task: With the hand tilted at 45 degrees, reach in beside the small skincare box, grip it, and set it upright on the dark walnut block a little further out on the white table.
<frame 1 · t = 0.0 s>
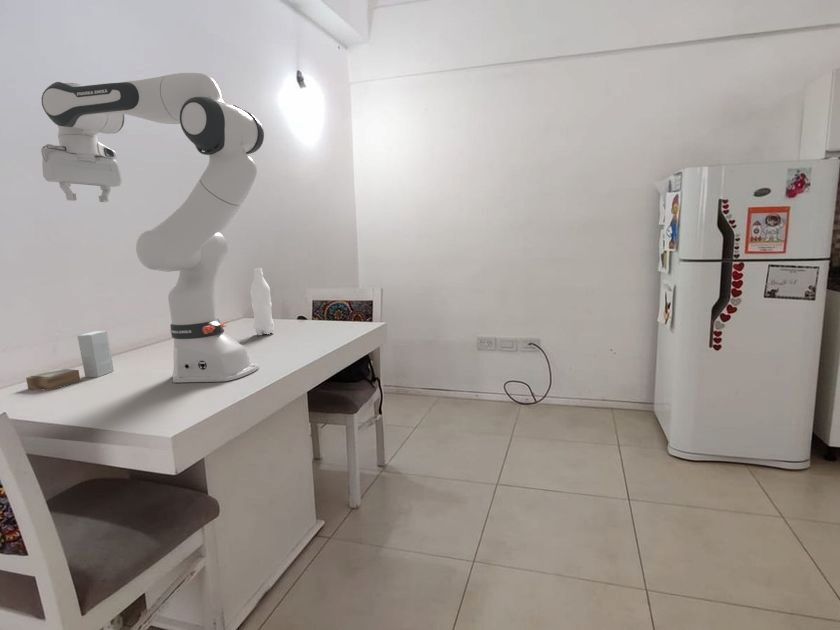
hand: (88, 201, 134), 48 cm above the table, tool pointing down, fingers open, 8 cm apart
water bottle: (265, 334, 184), on the table
walnut block: (54, 384, 128), on the table
skincare box: (99, 375, 137), on the table
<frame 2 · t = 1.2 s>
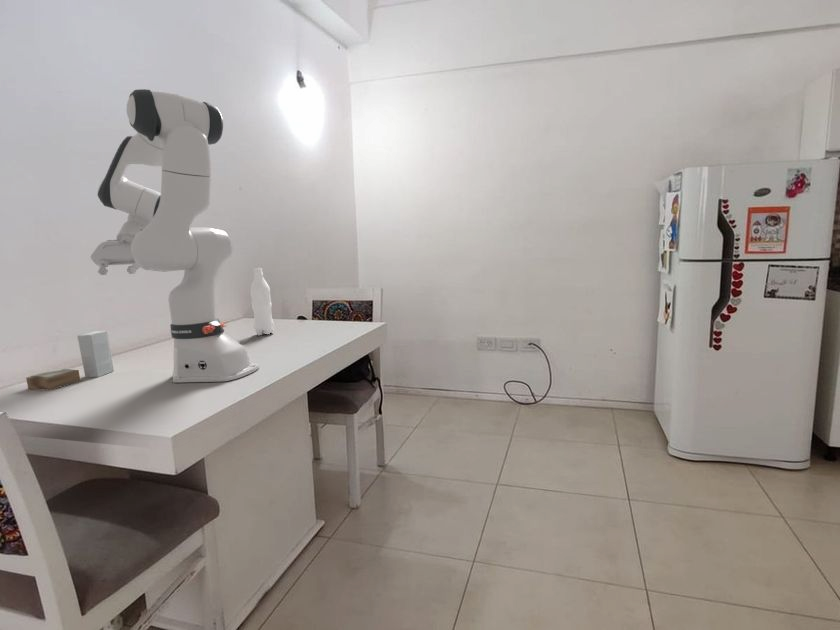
hand: (115, 273, 144), 28 cm above the table, tool tilted 45°, fingers open, 8 cm apart
nothing on the table moved.
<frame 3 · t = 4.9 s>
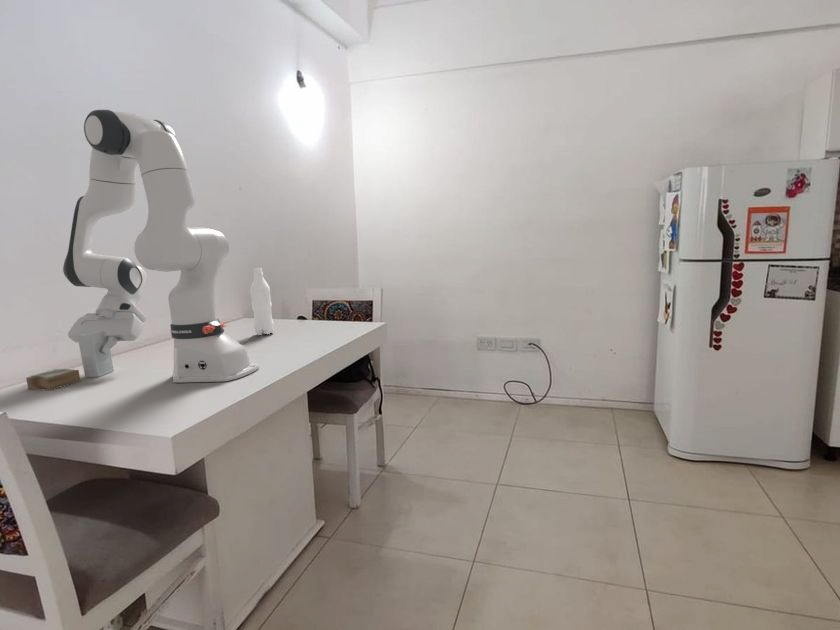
hand: (93, 352, 135), 6 cm above the table, tool tilted 45°, fingers closed on skincare box, 4 cm apart
skincare box: (99, 375, 137), on the table, touching gripper
everything else where it was.
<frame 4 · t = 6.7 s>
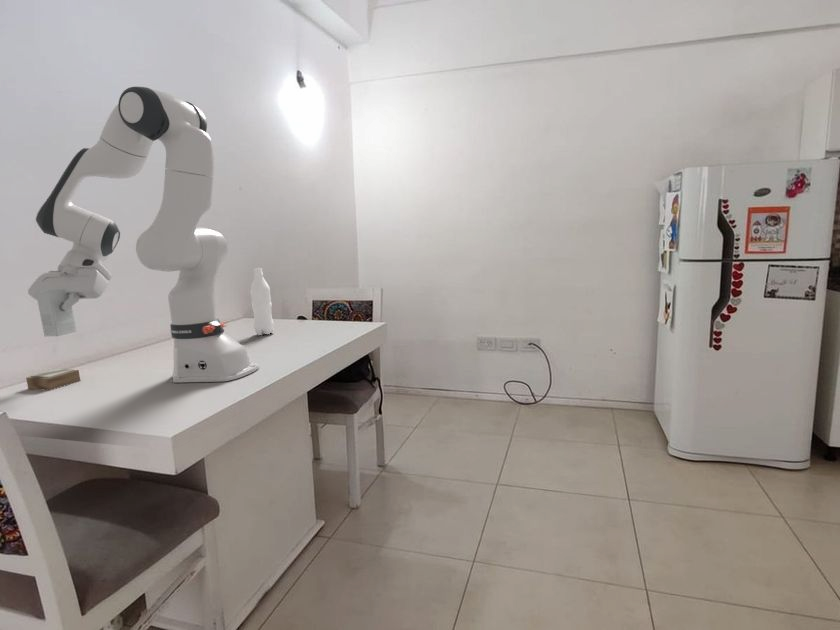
hand: (53, 310, 128), 20 cm above the table, tool tilted 45°, fingers closed on skincare box, 4 cm apart
skincare box: (60, 335, 129), point 13 cm above the table, touching gripper
everything else where it was.
when the fingers open (11 cm above the table, at t = 8.9 s): skincare box stays where it is, resting on walnut block.
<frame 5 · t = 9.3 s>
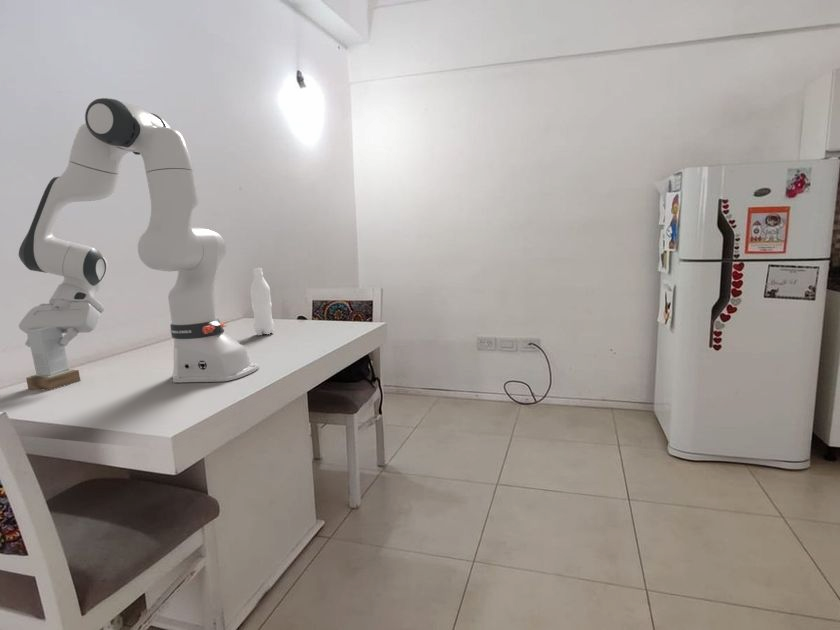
hand: (45, 345, 126), 11 cm above the table, tool tilted 45°, fingers open, 8 cm apart
skincare box: (52, 373, 128), point 3 cm above the table, touching walnut block
everything else where it was.
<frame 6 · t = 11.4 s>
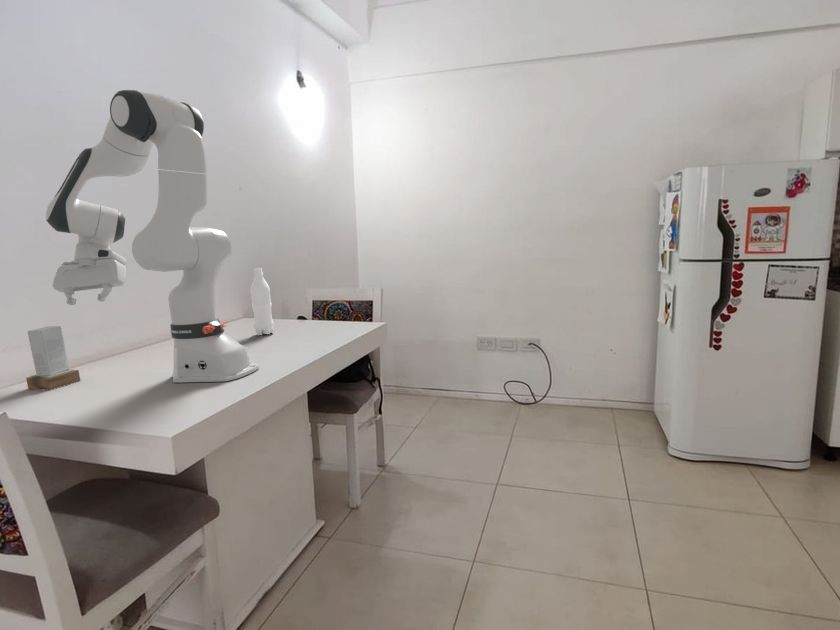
hand: (86, 302, 140), 20 cm above the table, tool tilted 25°, fingers open, 8 cm apart
nothing on the table moved.
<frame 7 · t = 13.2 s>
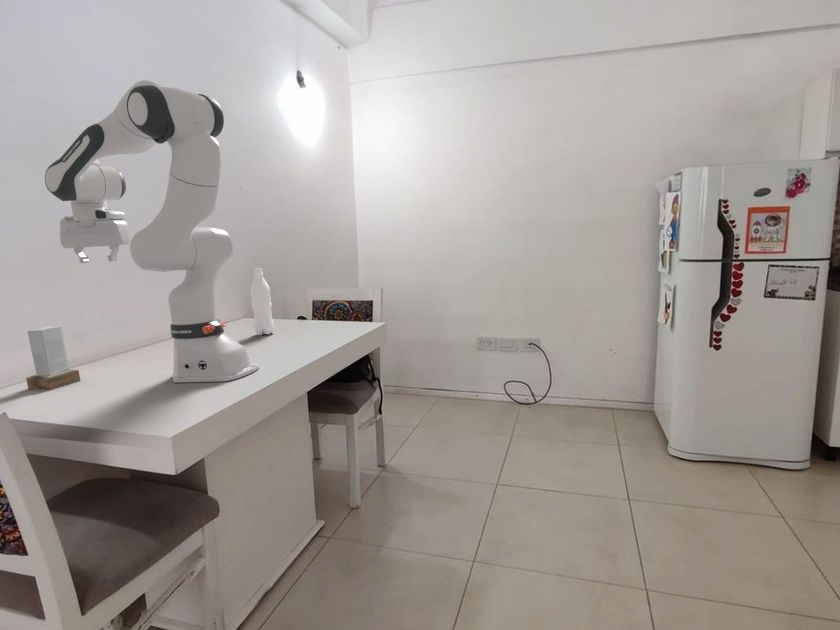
hand: (98, 262, 144), 31 cm above the table, tool pointing down, fingers open, 8 cm apart
nothing on the table moved.
at the end: skincare box inside the target area on the walnut block (0.1 cm from its centre), point 3.1 cm above the walnut block's base; skincare box tilted 0°; the gripper is holding nothing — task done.
